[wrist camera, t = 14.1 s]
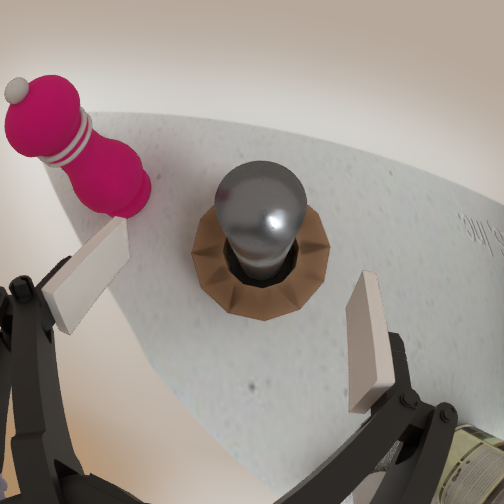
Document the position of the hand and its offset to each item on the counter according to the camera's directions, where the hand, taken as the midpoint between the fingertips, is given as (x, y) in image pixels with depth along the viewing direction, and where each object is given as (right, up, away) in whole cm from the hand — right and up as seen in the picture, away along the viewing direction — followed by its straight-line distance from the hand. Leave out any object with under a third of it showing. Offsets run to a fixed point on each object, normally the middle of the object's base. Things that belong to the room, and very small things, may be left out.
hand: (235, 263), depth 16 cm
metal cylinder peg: (+2, 0, +13) cm, 13 cm away
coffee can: (+26, -25, +8) cm, 37 cm away
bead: (+2, 0, +13) cm, 13 cm away
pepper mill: (-13, +7, +15) cm, 21 cm away
